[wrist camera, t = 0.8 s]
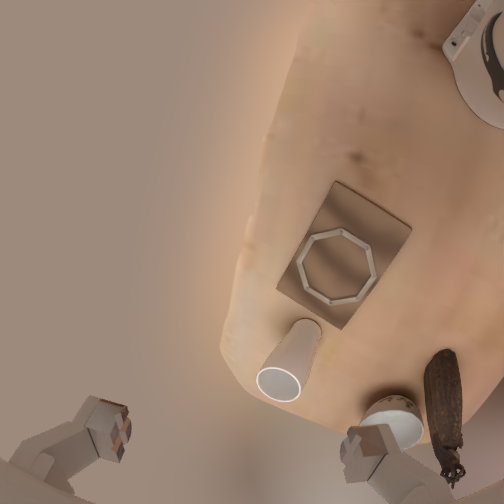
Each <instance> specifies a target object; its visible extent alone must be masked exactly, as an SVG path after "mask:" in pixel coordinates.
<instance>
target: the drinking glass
mask: <svg viewBox="0 0 504 504" xmlns="http://www.w3.org/2000/svg"><path fill="white" fill-rule="evenodd" d="M320 338H321V329H320V327H319V325H318V324H317V323H316V322H314V321H312V320H309V319H301V320H298V321H297V322H296V323H295V324H294V325H293V326H292V328H291V330H290V331H289V332H288V333H287V335H286V336H285V337H284V338H283V340H282V341H281V342H280V343H279V344H278V346H277V347H276V348H275V349H274V350H273V351H272V353H271V354H270V355H269V356H268V358H267V359H266V361H265V362H264V364H263V365H262V367H261V369H260V371H259V372H258V374H257V377H256V381H257V385H258V387H259V389H260V390H261V391H262V392H263V393H264V394H265V395H266V396H267V397H269V398H271V399H273V400H276V401H280V402H289V401H293V400H295V399H296V398H298V397H299V395H300V394H301V392H302V390H303V388H304V386H305V384H306V382H307V379H308V377H309V374H310V371H311V368H312V364H313V361H314V357H315V354H316V350H317V347H318V343H319V341H320Z"/></svg>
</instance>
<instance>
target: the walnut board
mask: <svg viewBox="0 0 504 504" xmlns="http://www.w3.org/2000/svg"><path fill="white" fill-rule="evenodd" d="M411 232H412V228H411V227H409V226H408V225H406V224H405V223H403V222H402V221H400V220H399V219H397V218H396V217H394V216H393V215H391V214H390V213H388V212H387V211H385V210H383V209H382V208H380V207H379V206H377V205H376V204H374V203H372V202H371V201H369V200H368V199H366V198H364V197H363V196H361V195H359V194H358V193H356V192H354V191H353V190H351V189H349V188H348V187H346V186H344V185H343V184H341V183H339V182H337V181H336V182H335V183H334V185H333V187H332V189H331V191H330V192H329V194H328V196H327V198H326V200H325V202H324V204H323V205H322V207H321V209H320V211H319V213H318V215H317V216H316V218H315V220H314V222H313V224H312V226H311V227H310V229H309V231H308V233H307V235H306V236H305V238H304V240H303V242H302V244H301V245H300V247H299V249H298V251H297V252H296V254H295V256H294V258H293V259H292V261H291V263H290V265H289V267H288V268H287V270H286V272H285V274H284V275H283V277H282V279H281V280H280V282H279V284H278V286H277V287H276V289H277V290H279V291H280V292H282V293H283V294H285V295H286V296H288V297H289V298H291V299H293V300H294V301H296V302H297V303H299V304H300V305H302V306H304V307H305V308H307V309H308V310H310V311H311V312H313V313H315V314H316V315H318V316H319V317H321V318H322V319H324V320H326V321H327V322H329V323H330V324H332V325H334V326H335V327H337V328H338V329H340V330H342V329H343V327H344V326H345V325H346V324H347V322H348V321H349V320H350V319H351V317H352V316H353V315H354V313H355V312H356V311H357V309H358V308H359V307H360V305H361V304H362V303H363V301H364V300H365V299H366V297H367V296H368V295H369V293H370V292H371V291H372V289H373V288H374V286H375V285H376V284H377V282H378V281H379V279H380V278H381V277H382V275H383V274H384V272H385V271H386V269H387V268H388V267H389V265H390V264H391V262H392V261H393V259H394V258H395V256H396V255H397V253H398V252H399V250H400V249H401V247H402V246H403V244H404V243H405V241H406V239H407V238H408V236H409V235H410V233H411Z"/></svg>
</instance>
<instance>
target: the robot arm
mask: <svg viewBox="0 0 504 504" xmlns="http://www.w3.org/2000/svg"><path fill="white" fill-rule="evenodd" d="M452 42H453V43H455V44H456V46H453V45H452ZM442 50H443V53H444V54H445V56H446V58H447V59H448V61H449V62H450V64H451V65H452V68H453V71H454V76H455V80H456V83H457V86H458V89H459V91H460V93H461V95H462V97H463V99H464V100H465V102H466V103H467V105H468V106H469V107H470V108H471V110H472V111H473V112H474V113H475V114H476V115H477V116H478V117H480V118H481V119H482V120H484V121H485V122H487V123H488V124H490V125H492V126H494V127H497V128H501V129H504V0H476V1H475V3H474V4H473V5H472V7H471V8H470V9H469V11H468V12H467V13H466V15H465V16H464V17H463V19H462V20H461V21H460V23H459V24H458V25H457V26H456V28H455V29H454V30H453V32H452V33H451V34H450V36H449V37H448V38H447V40H446V41H445V42H444V43H443V45H442ZM128 413H129V411H128V407H127V406H125V405H122V404H118V403H115V402H111V401H108V400H105V399H101V398H98V397H94V396H89V397H87V399H86V400H85V402H84V403H83V405H82V406H81V408H80V410H79V411H78V413H77V414H76V416H75V418H74V419H73V421H72V422H66V423H63V424H61V425H59V426H57V427H55V428H52V429H50V430H48V431H45V432H43V433H41V434H38V435H36V436H33V437H31V438H28V439H26V440H24V441H22V442H21V444H20V445H19V447H18V448H17V450H16V451H15V453H14V454H13V456H12V457H11V459H10V460H9V462H7V461H5V460H3V459H2V458H0V504H95V503H92V502H89V501H87V500H84V499H81V498H79V497H77V496H74V494H75V492H74V489H73V488H72V487H71V485H70V483H69V482H68V481H67V480H68V479H69V478H71V477H72V476H74V475H76V474H77V473H78V472H80V471H81V470H83V469H84V468H86V467H87V466H89V465H90V464H92V463H93V462H95V461H96V460H97V459H99V457H100V458H103V459H106V460H110V461H113V462H117V463H120V461H121V459H122V456H123V454H124V451H125V450H124V447H123V445H124V444H126V443H128V441H129V438H130V436H131V430H132V427H131V420H130V419H129V418H128V417H127V416H128ZM347 435H348V437H347V438H345V439H344V440H343V442H342V444H341V448H340V457H341V462H342V463H344V464H345V465H346V467H345V469H344V474H345V478H346V482H347V483H355V482H365V481H367V483H368V484H369V485H370V486H372V488H373V489H374V490H375V491H376V492H377V493H378V494H380V495H381V496H382V497H383V498H384V499H385V500H386V501H387V502H388V503H389V504H504V479H502V480H500V481H498V482H496V483H494V484H493V485H490V486H488V487H486V488H484V489H482V490H479V491H477V492H475V493H473V494H470V495H468V496H466V497H463V498H461V499H458V500H455V498H454V496H453V494H452V492H451V490H450V488H449V485H448V483H447V481H446V479H445V478H444V477H442V476H440V475H439V474H437V473H436V472H434V471H433V470H431V469H429V468H428V467H426V466H424V465H423V464H422V463H420V462H419V461H417V460H416V459H414V458H412V457H411V456H410V455H408V454H407V453H405V452H401V451H400V448H399V446H398V444H397V442H396V439H395V437H394V435H393V433H392V431H391V428H390V426H389V425H388V424H387V423H385V424H375V425H374V424H373V425H362V426H351V427H350V428H349V429H348V431H347Z"/></svg>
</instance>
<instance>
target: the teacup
mask: <svg viewBox="0 0 504 504" xmlns="http://www.w3.org/2000/svg"><path fill="white" fill-rule="evenodd" d="M385 423H387V424H388V425H389V426H390V428H391V431H392V433H393V435H394V437H395V439H396V442H397V444H398V446H399V448H400V451H401V450H405V449H407V448H410V447H412V446H414V445H415V444H416V443H417V442H418V441H419V440H420V439H421V438H422V436H423V433H424V424H423V418H422V415H421V413H420V410H419V409H418V407H417V406H416V405H415V404H414V403H413V402H412V401H411V400H409V399H408V398H405V397H403V396H400V395H390V396H387V397H385V398H383V399H381V400H379V401H377V402H376V403H375V404H373V405H372V406H371V407H370V408H369V409H368V410H367V412H366V413H365V414H364V416H363V418H362V420H361V421H360V424H359V426H362V425H373V424H374V425H375V424H385Z"/></svg>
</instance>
